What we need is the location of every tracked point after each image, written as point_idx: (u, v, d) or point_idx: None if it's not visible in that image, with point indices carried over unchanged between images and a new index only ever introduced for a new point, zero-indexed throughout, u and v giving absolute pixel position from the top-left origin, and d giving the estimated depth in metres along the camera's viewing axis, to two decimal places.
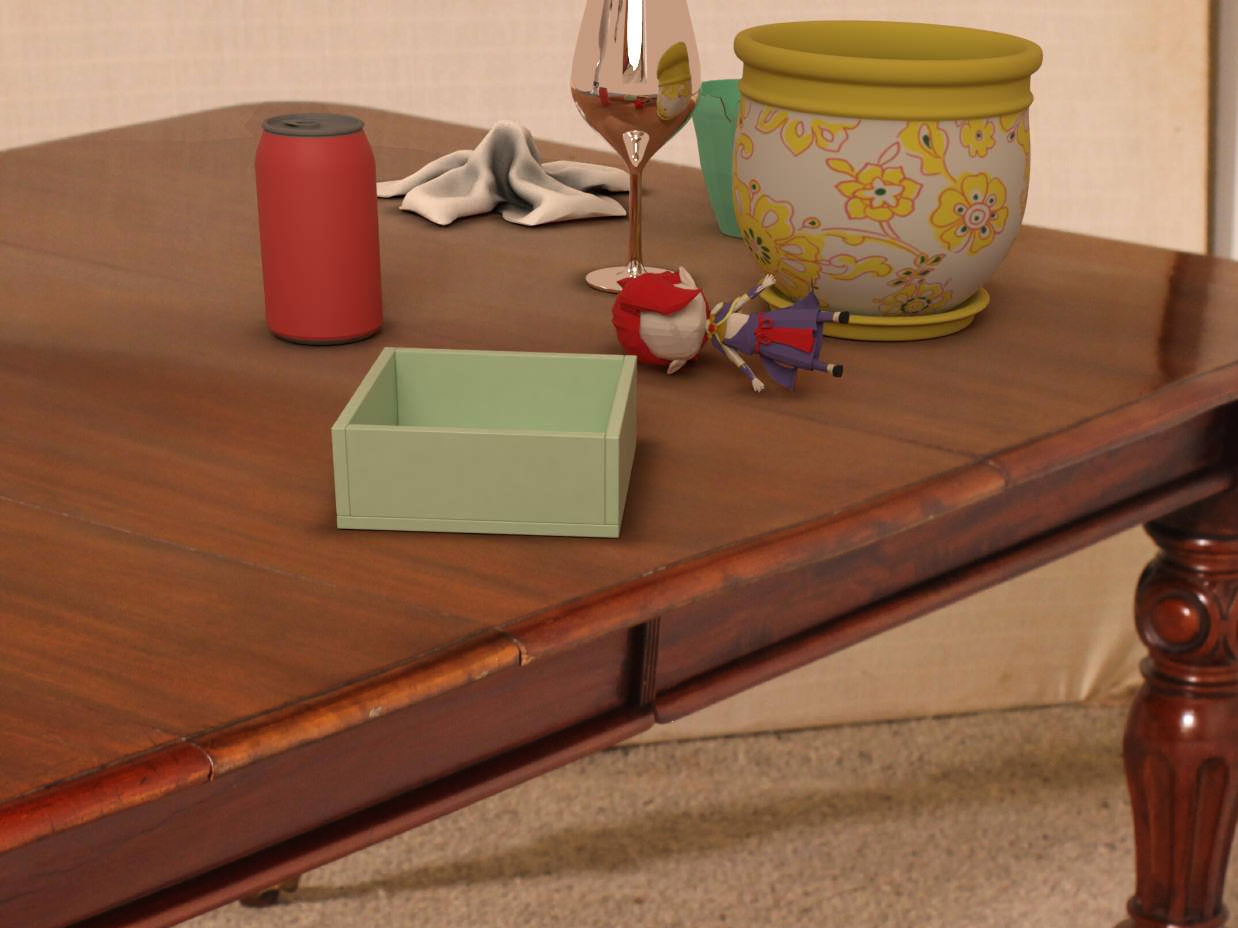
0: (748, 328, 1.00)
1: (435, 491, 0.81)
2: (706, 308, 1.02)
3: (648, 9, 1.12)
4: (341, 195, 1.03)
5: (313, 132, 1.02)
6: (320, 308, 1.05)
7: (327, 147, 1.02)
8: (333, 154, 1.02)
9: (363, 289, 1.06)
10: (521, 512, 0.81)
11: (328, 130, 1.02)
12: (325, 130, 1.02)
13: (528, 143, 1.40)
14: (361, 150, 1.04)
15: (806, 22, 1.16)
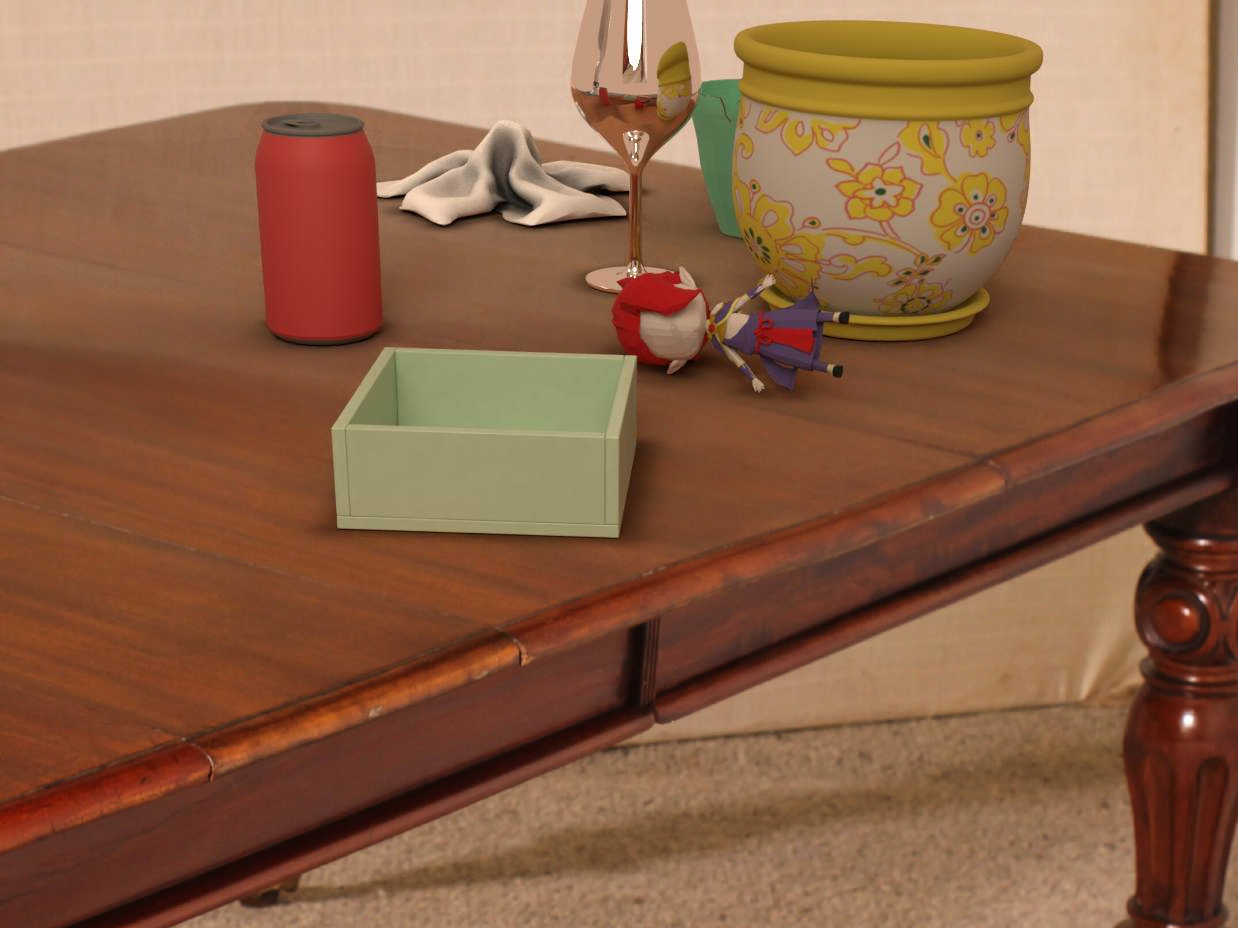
0: (748, 328, 1.00)
1: (435, 491, 0.81)
2: (706, 308, 1.02)
3: (648, 9, 1.12)
4: (341, 195, 1.03)
5: (313, 132, 1.02)
6: (320, 308, 1.05)
7: (327, 147, 1.02)
8: (333, 154, 1.02)
9: (363, 289, 1.06)
10: (521, 512, 0.81)
11: (328, 130, 1.02)
12: (325, 130, 1.02)
13: (528, 143, 1.40)
14: (361, 150, 1.04)
15: (806, 22, 1.16)
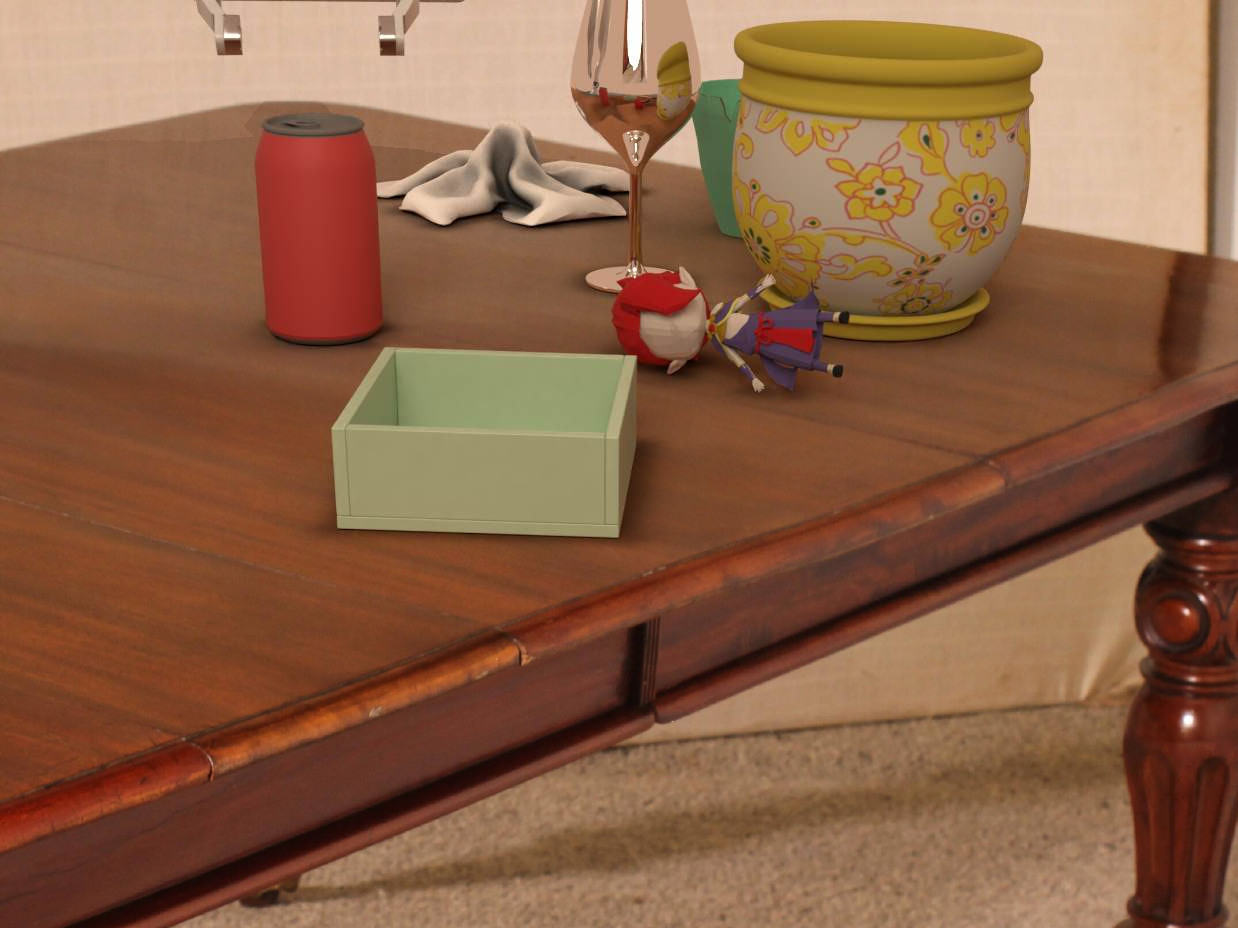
0: (748, 328, 1.00)
1: (435, 491, 0.81)
2: (706, 308, 1.02)
3: (648, 9, 1.12)
4: (341, 195, 1.03)
5: (313, 132, 1.02)
6: (320, 308, 1.05)
7: (327, 147, 1.02)
8: (333, 154, 1.02)
9: (363, 289, 1.06)
10: (521, 512, 0.81)
11: (328, 130, 1.02)
12: (325, 130, 1.02)
13: (528, 143, 1.40)
14: (361, 150, 1.04)
15: (806, 22, 1.16)
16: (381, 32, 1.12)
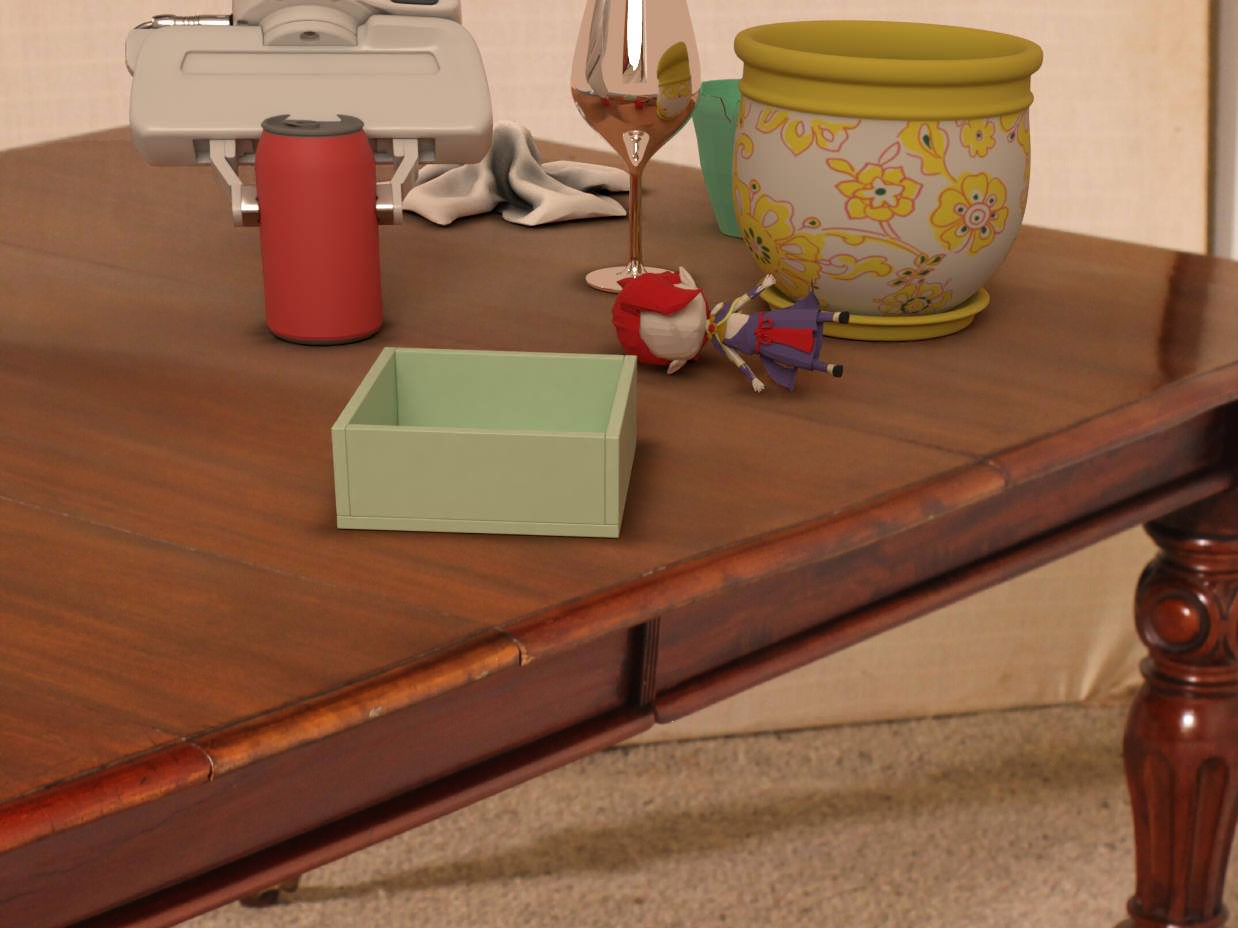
0: (748, 328, 1.00)
1: (435, 491, 0.81)
2: (706, 308, 1.02)
3: (648, 9, 1.12)
4: (341, 195, 1.03)
5: (313, 132, 1.02)
6: (320, 308, 1.05)
7: (327, 147, 1.02)
8: (333, 154, 1.02)
9: (363, 289, 1.06)
10: (521, 512, 0.81)
11: (328, 130, 1.02)
12: (325, 130, 1.02)
13: (528, 143, 1.40)
14: (361, 150, 1.04)
15: (806, 22, 1.16)
16: (378, 202, 1.06)
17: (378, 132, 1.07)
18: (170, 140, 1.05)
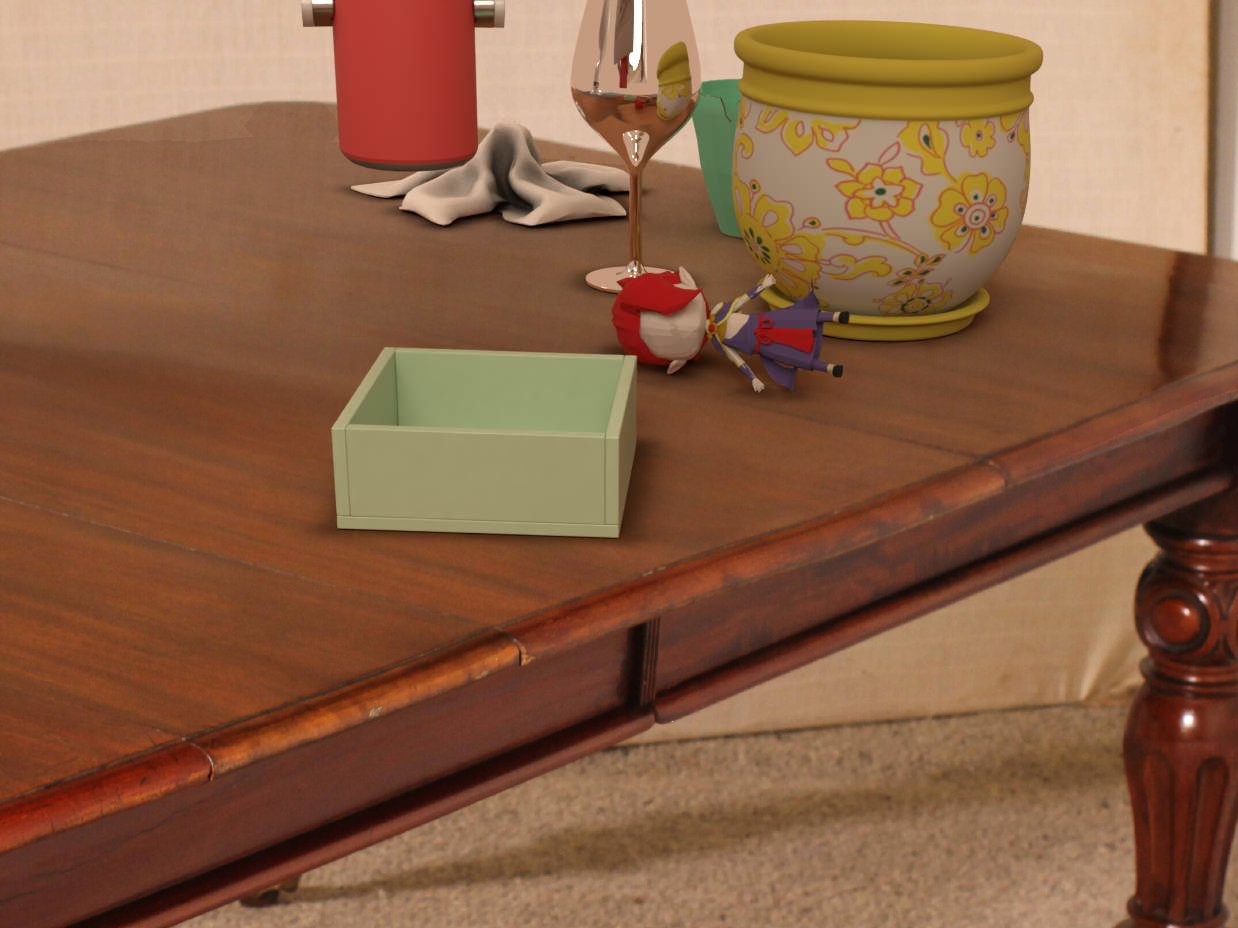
0: (748, 328, 1.00)
1: (435, 491, 0.81)
2: (706, 308, 1.02)
3: (648, 9, 1.12)
4: None
5: None
6: (407, 123, 0.87)
7: None
8: None
9: (458, 102, 0.88)
10: (521, 512, 0.81)
11: None
12: None
13: (528, 143, 1.40)
14: None
15: (806, 22, 1.16)
16: None
17: None
18: None
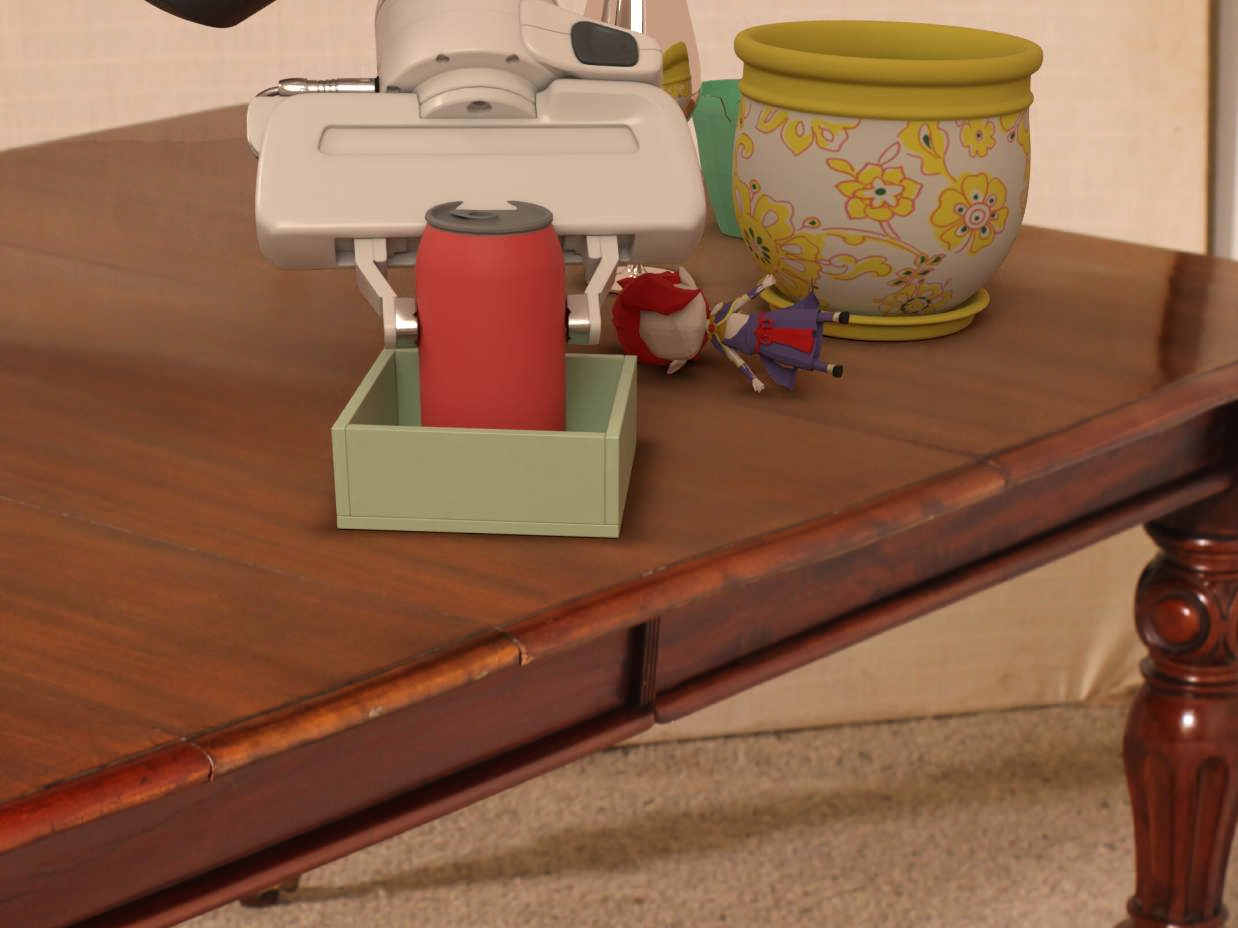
0: (748, 328, 1.00)
1: (435, 491, 0.81)
2: (706, 308, 1.02)
3: (648, 9, 1.12)
4: (527, 308, 0.81)
5: (495, 229, 0.80)
6: None
7: (511, 247, 0.80)
8: (519, 256, 0.80)
9: (548, 422, 0.84)
10: (521, 512, 0.81)
11: (513, 226, 0.80)
12: (510, 226, 0.80)
13: None
14: (551, 250, 0.82)
15: (806, 22, 1.16)
16: (571, 318, 0.84)
17: (566, 228, 0.85)
18: (306, 239, 0.83)
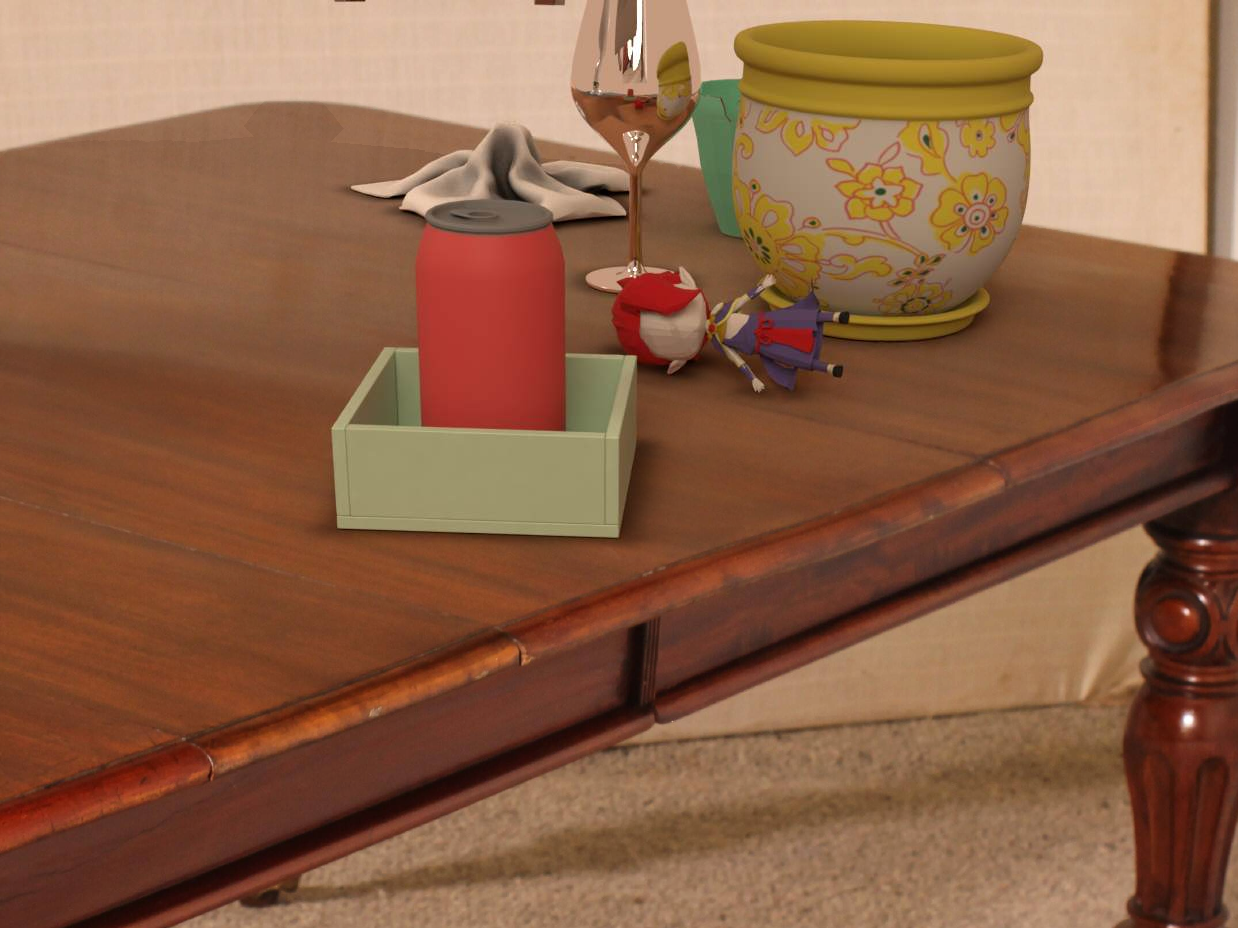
0: (748, 328, 1.00)
1: (435, 491, 0.81)
2: (706, 308, 1.02)
3: (648, 9, 1.12)
4: (527, 307, 0.81)
5: (495, 229, 0.80)
6: None
7: (512, 247, 0.80)
8: (520, 256, 0.80)
9: (548, 422, 0.84)
10: (521, 512, 0.81)
11: (513, 226, 0.80)
12: (510, 226, 0.80)
13: (528, 143, 1.40)
14: (551, 250, 0.82)
15: (806, 22, 1.16)
16: None
17: None
18: None
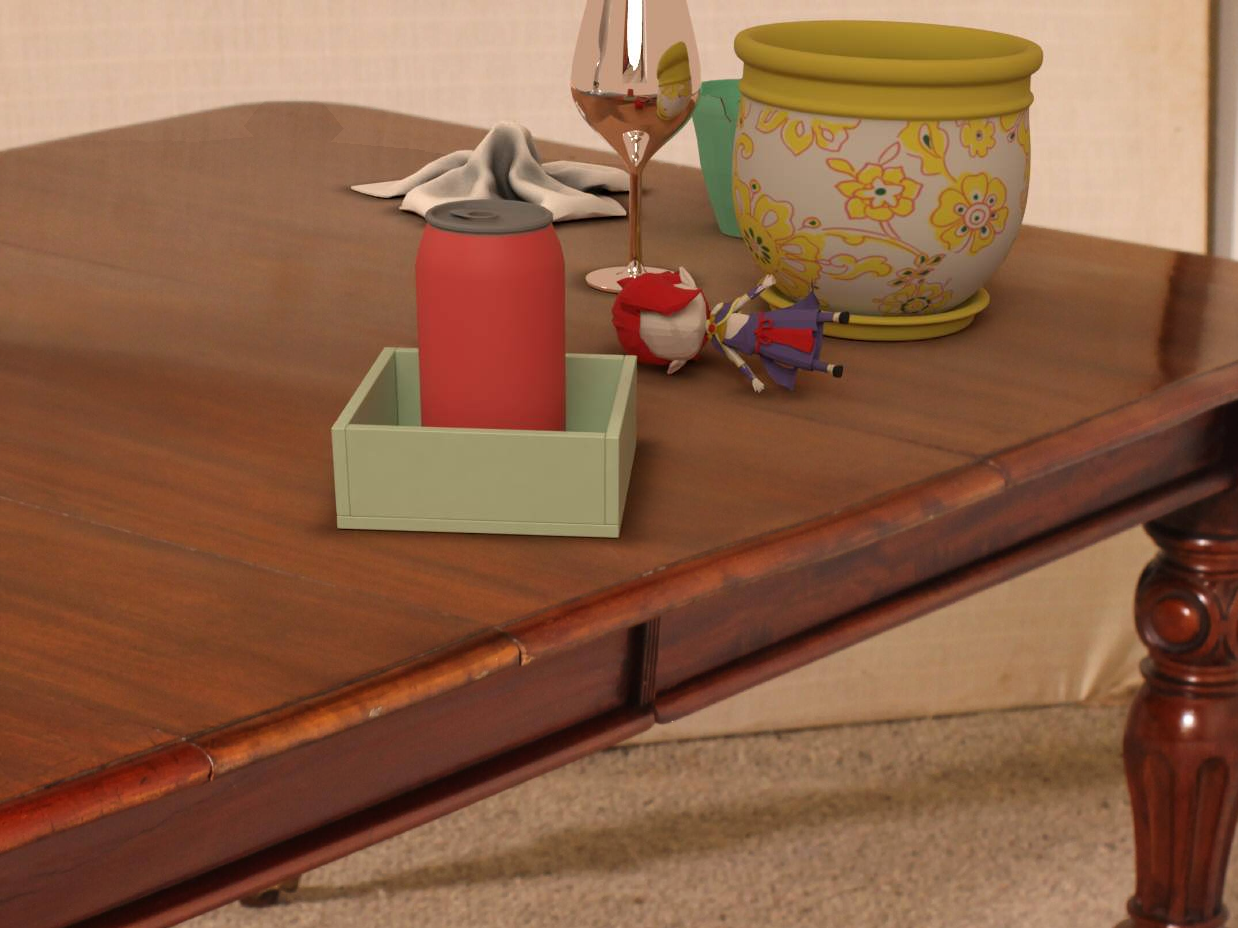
0: (748, 328, 1.00)
1: (435, 491, 0.81)
2: (706, 308, 1.02)
3: (648, 9, 1.12)
4: (527, 307, 0.81)
5: (495, 229, 0.80)
6: None
7: (512, 247, 0.80)
8: (520, 256, 0.80)
9: (548, 422, 0.84)
10: (521, 512, 0.81)
11: (513, 226, 0.80)
12: (510, 226, 0.80)
13: (528, 143, 1.40)
14: (551, 249, 0.82)
15: (806, 22, 1.16)
16: None
17: None
18: None
